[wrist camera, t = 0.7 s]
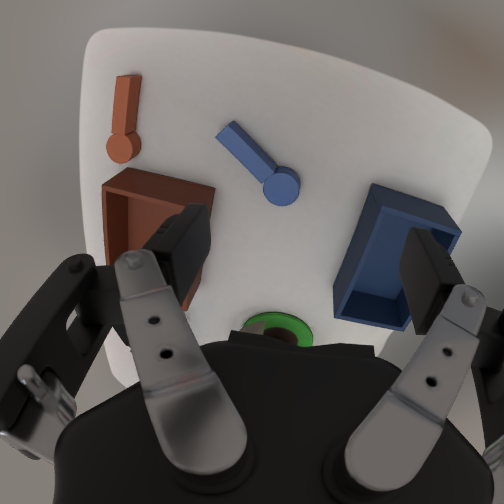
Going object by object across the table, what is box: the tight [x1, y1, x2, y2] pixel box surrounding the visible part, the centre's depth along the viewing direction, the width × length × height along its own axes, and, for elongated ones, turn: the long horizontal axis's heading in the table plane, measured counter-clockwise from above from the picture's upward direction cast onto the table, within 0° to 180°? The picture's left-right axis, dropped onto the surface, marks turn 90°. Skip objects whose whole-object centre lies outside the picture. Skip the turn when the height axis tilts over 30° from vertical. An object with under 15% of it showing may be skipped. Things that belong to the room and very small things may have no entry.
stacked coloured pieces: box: [240, 313, 313, 347], centre depth 38 cm, size 12×13×15 cm
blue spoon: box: [215, 121, 300, 206], centre depth 30 cm, size 10×4×2 cm, turn 45°
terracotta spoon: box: [106, 75, 142, 164], centre depth 29 cm, size 10×4×2 cm, turn 168°
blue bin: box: [333, 183, 462, 332], centre depth 31 cm, size 14×9×6 cm, turn 171°
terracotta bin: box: [102, 168, 215, 311], centre depth 35 cm, size 14×11×6 cm
